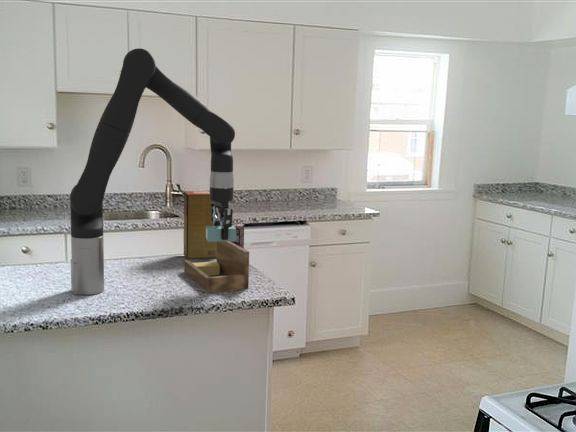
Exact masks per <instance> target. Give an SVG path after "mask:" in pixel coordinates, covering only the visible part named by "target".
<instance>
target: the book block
mask: <svg viewBox="0 0 576 432" xmlns="http://www.w3.org/2000/svg"><path fill="white" fill-rule="evenodd" d="M206 239H207V241H208V242H218V241H236V228H235V227H234V226H232V227H230V228H228V240H222V239H221V226H206Z"/></svg>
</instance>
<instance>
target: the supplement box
mask: <svg viewBox="0 0 576 432" xmlns="http://www.w3.org/2000/svg"><path fill="white" fill-rule="evenodd" d="M232 226H234V227H235V228H236V241H231V242H233V243H234V244H236V245H238V246H240V247H242V248H243V249H245V223H232Z"/></svg>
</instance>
